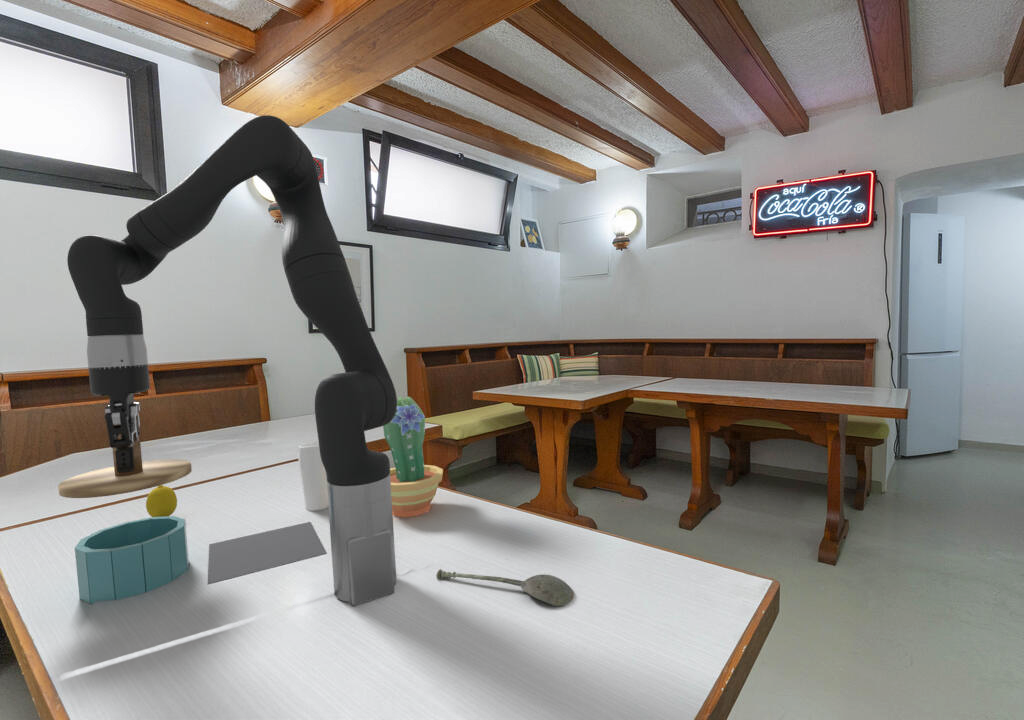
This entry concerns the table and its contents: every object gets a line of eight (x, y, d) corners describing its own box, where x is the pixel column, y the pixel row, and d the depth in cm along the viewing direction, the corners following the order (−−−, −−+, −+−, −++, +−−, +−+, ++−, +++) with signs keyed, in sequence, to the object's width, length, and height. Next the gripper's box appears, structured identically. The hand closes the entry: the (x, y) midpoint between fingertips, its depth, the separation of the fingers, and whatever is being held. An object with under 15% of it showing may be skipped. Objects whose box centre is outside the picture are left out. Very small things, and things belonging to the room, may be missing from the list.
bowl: (186, 584, 78) (181, 536, 78) (70, 614, 71) (65, 560, 70) (190, 552, 90) (186, 510, 90) (92, 575, 83) (87, 529, 82)
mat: (327, 556, 86) (326, 553, 86) (207, 587, 77) (207, 584, 77) (310, 524, 102) (310, 521, 102) (209, 546, 92) (209, 544, 92)
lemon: (184, 515, 110) (181, 481, 110) (164, 525, 105) (161, 489, 104) (161, 516, 111) (158, 481, 110) (141, 525, 105) (137, 489, 105)
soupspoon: (568, 619, 66) (579, 597, 72) (568, 595, 66) (580, 574, 72) (428, 589, 74) (449, 570, 80) (428, 567, 74) (449, 550, 80)
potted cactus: (362, 522, 101) (354, 403, 100) (390, 497, 116) (384, 393, 115) (434, 523, 99) (427, 401, 98) (453, 497, 114) (448, 392, 113)
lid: (189, 482, 77) (185, 443, 76) (43, 506, 68) (39, 463, 68) (193, 460, 91) (191, 427, 91) (74, 478, 83) (70, 442, 82)
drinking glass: (327, 513, 108) (322, 446, 107) (296, 514, 108) (292, 447, 107) (338, 502, 114) (334, 439, 113) (310, 503, 114) (305, 440, 114)
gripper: (141, 363, 74) (151, 474, 75) (152, 361, 87) (161, 456, 88) (77, 367, 71) (88, 484, 72) (98, 364, 83) (107, 463, 84)
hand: (128, 468), depth 80 cm, fingers closed on lid, 3 cm apart
